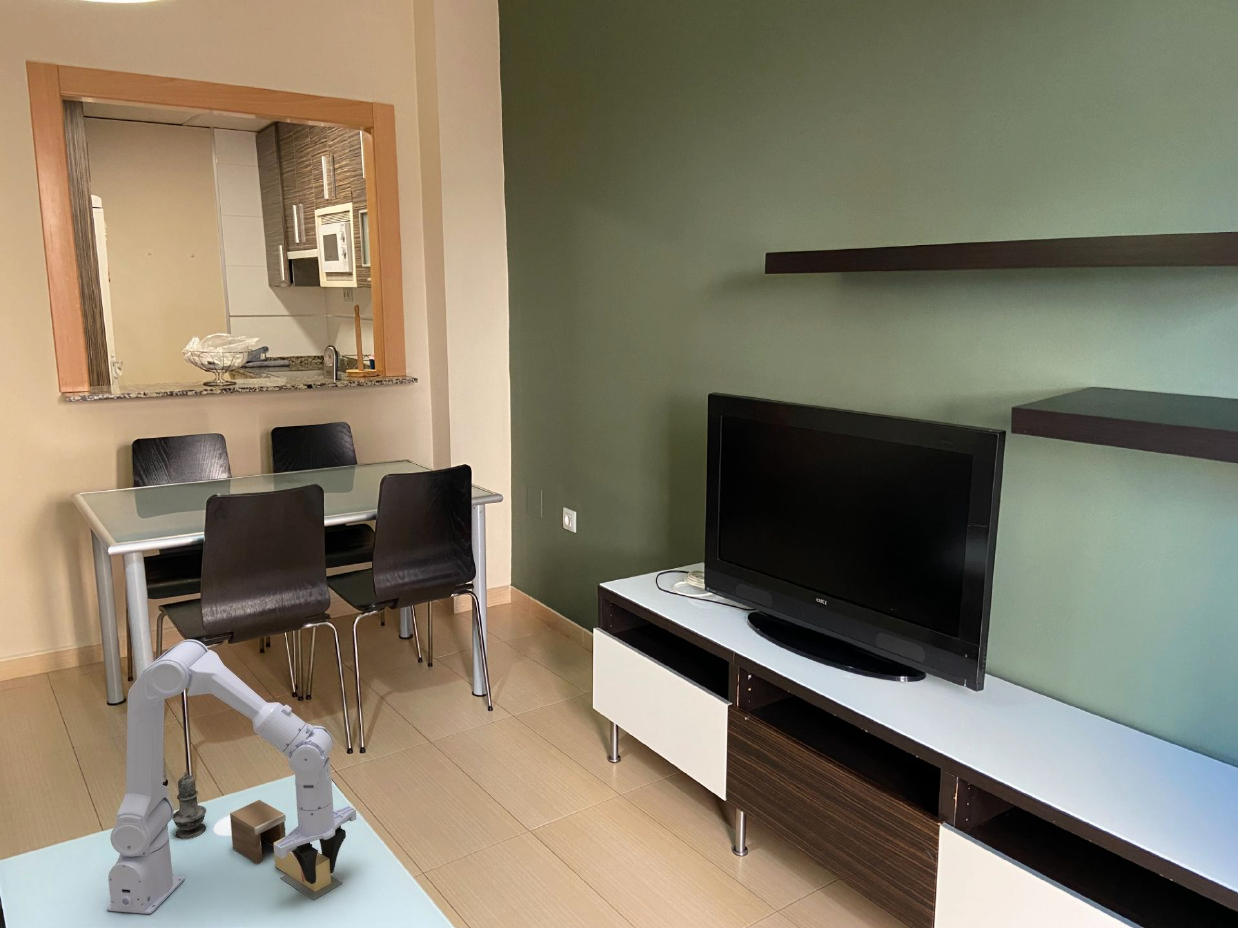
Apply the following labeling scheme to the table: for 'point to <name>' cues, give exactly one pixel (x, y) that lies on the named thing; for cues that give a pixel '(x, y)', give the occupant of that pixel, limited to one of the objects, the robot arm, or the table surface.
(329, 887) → the mat
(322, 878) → the tan rectangular block
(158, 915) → the table surface
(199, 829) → the grey stone finial
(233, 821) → the brown wooden open box
